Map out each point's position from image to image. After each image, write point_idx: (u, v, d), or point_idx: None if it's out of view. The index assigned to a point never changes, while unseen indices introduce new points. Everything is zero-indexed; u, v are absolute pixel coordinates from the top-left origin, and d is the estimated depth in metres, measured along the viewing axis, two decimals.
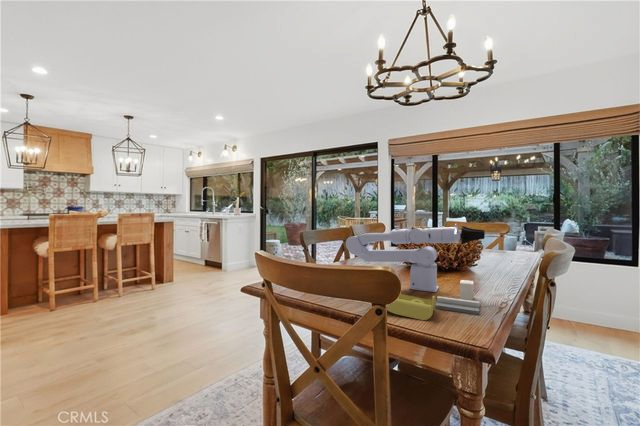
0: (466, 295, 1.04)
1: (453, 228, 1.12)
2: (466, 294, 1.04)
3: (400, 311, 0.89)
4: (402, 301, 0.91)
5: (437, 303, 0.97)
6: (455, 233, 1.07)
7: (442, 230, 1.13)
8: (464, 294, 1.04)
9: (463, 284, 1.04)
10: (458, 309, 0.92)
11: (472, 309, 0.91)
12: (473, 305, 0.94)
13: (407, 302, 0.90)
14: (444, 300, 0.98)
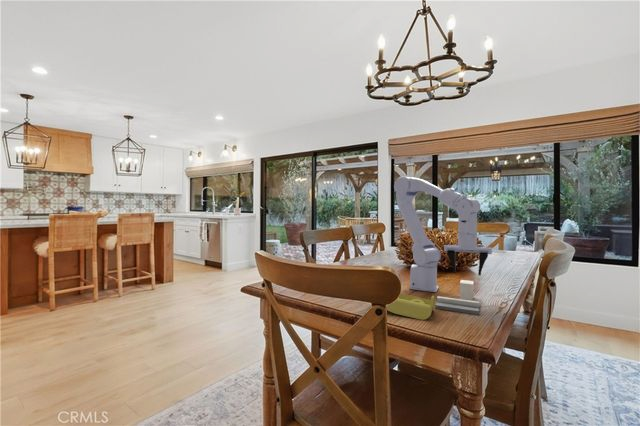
0: (466, 295, 1.04)
1: (462, 245, 1.04)
2: (466, 294, 1.04)
3: (399, 310, 0.89)
4: (401, 301, 0.91)
5: (437, 303, 0.97)
6: (447, 247, 1.07)
7: (460, 234, 1.05)
8: (464, 294, 1.04)
9: (463, 284, 1.04)
10: (458, 309, 0.92)
11: (472, 309, 0.91)
12: (473, 305, 0.94)
13: (406, 302, 0.90)
14: (444, 300, 0.98)
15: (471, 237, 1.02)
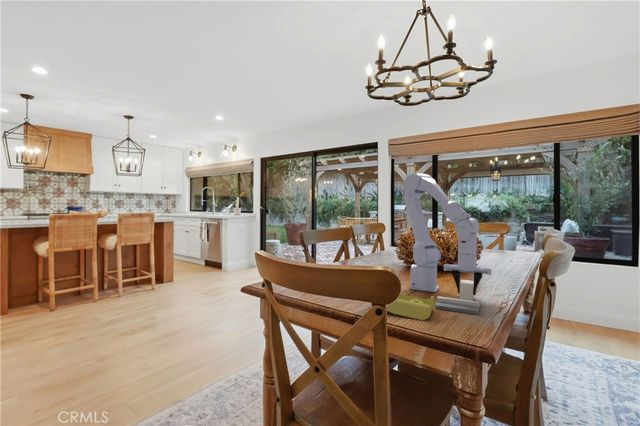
0: (466, 295, 1.04)
1: (462, 265, 1.04)
2: (466, 294, 1.04)
3: (399, 311, 0.89)
4: (401, 301, 0.91)
5: (437, 303, 0.97)
6: (446, 266, 1.08)
7: (460, 254, 1.05)
8: (464, 294, 1.04)
9: (463, 284, 1.04)
10: (458, 309, 0.92)
11: (472, 309, 0.91)
12: (473, 305, 0.94)
13: (406, 302, 0.90)
14: (444, 300, 0.98)
15: (471, 258, 1.03)
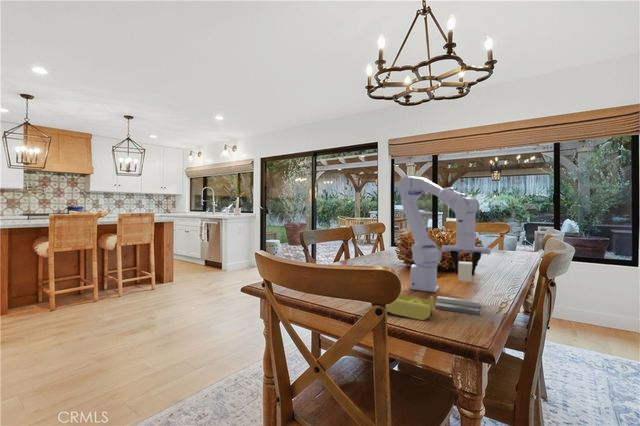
0: (465, 276, 1.01)
1: (460, 245, 1.02)
2: (465, 275, 1.01)
3: (398, 311, 0.89)
4: (400, 301, 0.91)
5: (437, 303, 0.97)
6: (444, 247, 1.05)
7: (458, 234, 1.02)
8: (463, 275, 1.01)
9: (462, 265, 1.01)
10: (458, 309, 0.92)
11: (472, 309, 0.91)
12: (473, 305, 0.94)
13: (405, 302, 0.90)
14: (444, 300, 0.98)
15: (469, 237, 1.00)
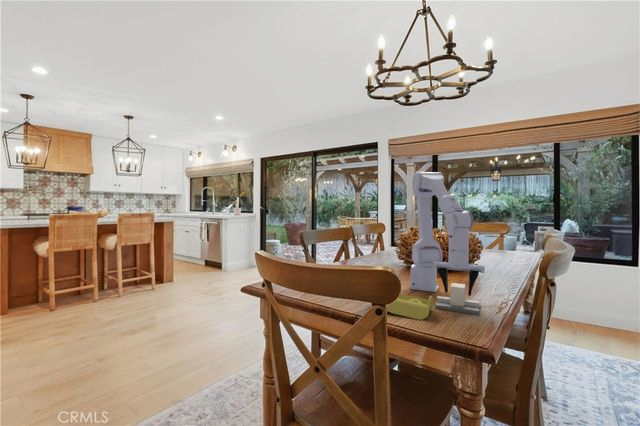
0: (457, 300, 0.95)
1: (453, 263, 0.95)
2: (457, 299, 0.95)
3: (397, 310, 0.89)
4: (399, 300, 0.91)
5: (437, 303, 0.97)
6: (436, 264, 0.99)
7: (450, 251, 0.96)
8: (455, 299, 0.95)
9: (454, 288, 0.95)
10: (458, 309, 0.92)
11: (472, 309, 0.91)
12: (473, 305, 0.94)
13: (404, 301, 0.90)
14: (444, 300, 0.98)
15: (462, 254, 0.94)
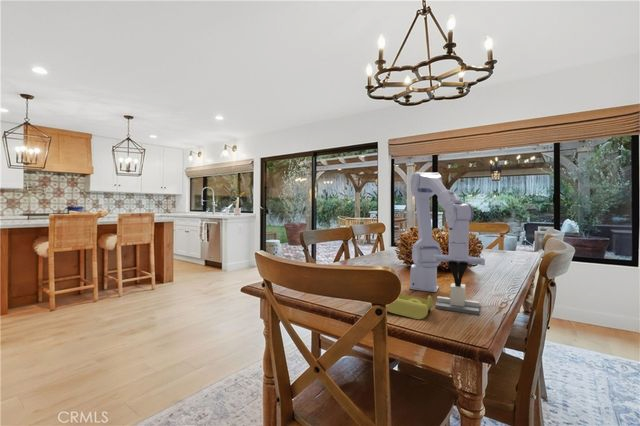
0: (457, 300, 0.95)
1: (453, 255, 0.95)
2: (457, 299, 0.95)
3: (396, 310, 0.90)
4: (398, 300, 0.91)
5: (437, 303, 0.97)
6: (436, 256, 0.99)
7: (450, 243, 0.96)
8: (455, 299, 0.95)
9: (454, 288, 0.95)
10: (458, 309, 0.92)
11: (472, 309, 0.91)
12: (473, 305, 0.94)
13: (403, 301, 0.91)
14: (444, 300, 0.98)
15: (462, 246, 0.94)
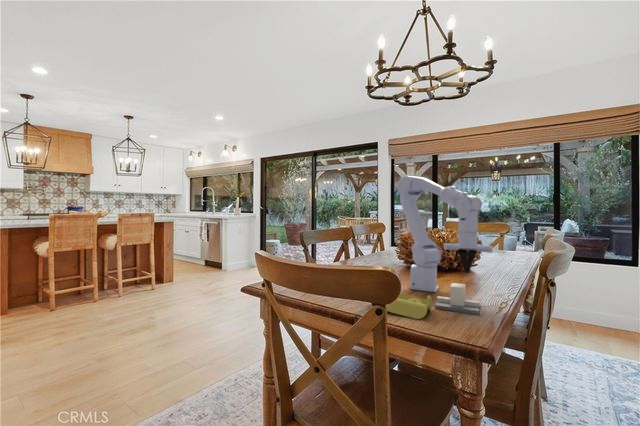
0: (457, 300, 0.95)
1: (462, 243, 1.02)
2: (457, 299, 0.95)
3: (395, 309, 0.90)
4: (398, 300, 0.92)
5: (437, 303, 0.97)
6: (447, 245, 1.05)
7: (460, 232, 1.02)
8: (455, 299, 0.95)
9: (454, 288, 0.95)
10: (458, 309, 0.92)
11: (472, 309, 0.91)
12: (473, 305, 0.94)
13: (402, 301, 0.91)
14: (444, 300, 0.98)
15: (471, 235, 1.00)
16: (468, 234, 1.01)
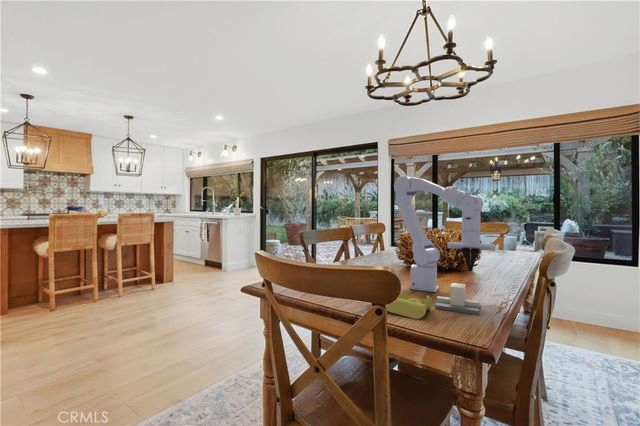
0: (457, 300, 0.95)
1: (466, 242, 1.04)
2: (457, 299, 0.95)
3: (394, 309, 0.90)
4: (397, 299, 0.92)
5: (437, 303, 0.97)
6: (450, 244, 1.08)
7: (464, 231, 1.05)
8: (455, 299, 0.95)
9: (454, 288, 0.95)
10: (458, 309, 0.92)
11: (472, 309, 0.91)
12: (473, 305, 0.94)
13: (402, 301, 0.91)
14: (444, 300, 0.98)
15: (475, 234, 1.03)
16: (471, 233, 1.03)
